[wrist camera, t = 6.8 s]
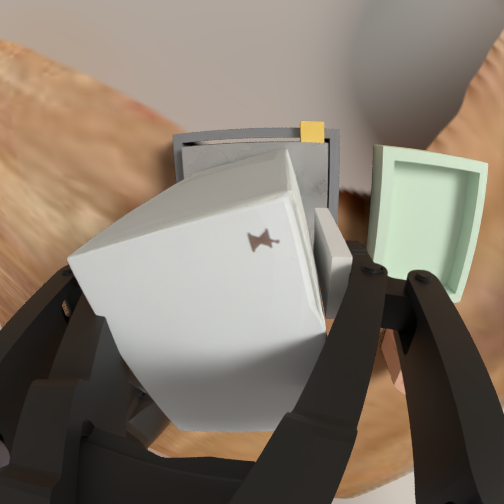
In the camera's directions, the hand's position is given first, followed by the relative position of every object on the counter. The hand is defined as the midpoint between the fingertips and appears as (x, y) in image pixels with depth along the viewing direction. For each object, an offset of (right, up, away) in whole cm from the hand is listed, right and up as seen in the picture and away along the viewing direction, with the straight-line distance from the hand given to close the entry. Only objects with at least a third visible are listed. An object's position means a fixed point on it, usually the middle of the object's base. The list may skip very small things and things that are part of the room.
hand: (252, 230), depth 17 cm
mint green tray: (+16, +1, +6) cm, 17 cm away
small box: (0, +1, +3) cm, 3 cm away
